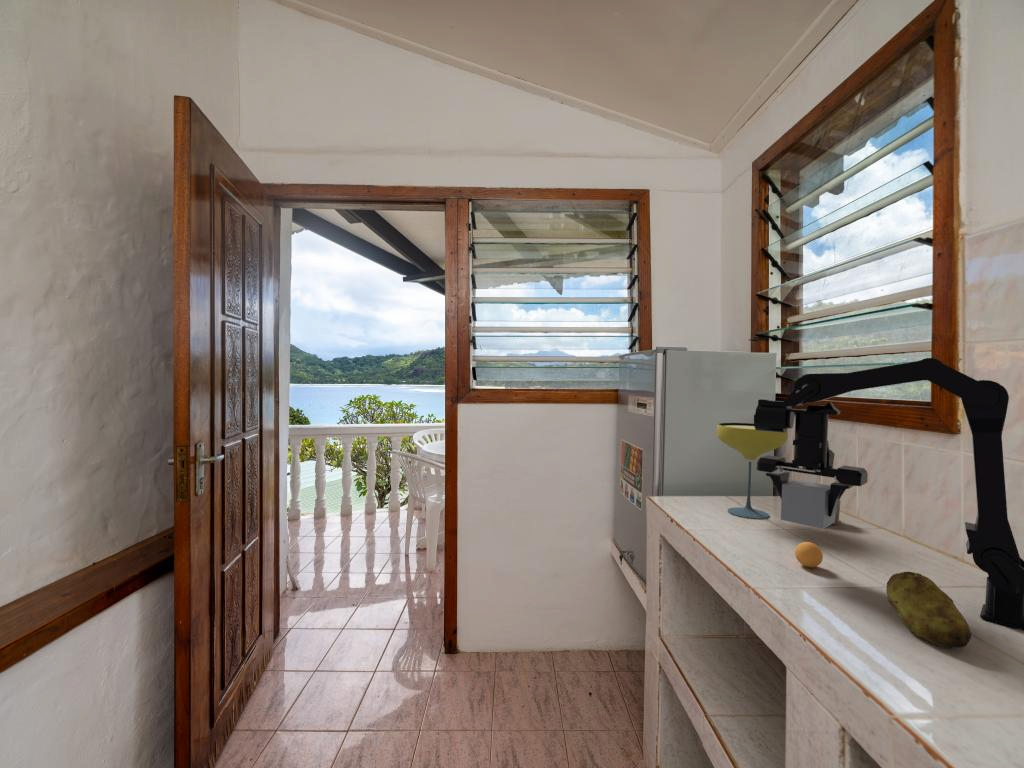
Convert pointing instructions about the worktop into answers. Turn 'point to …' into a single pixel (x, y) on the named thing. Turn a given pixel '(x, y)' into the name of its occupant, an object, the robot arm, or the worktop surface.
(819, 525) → the plain gray cube
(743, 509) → the cocktail glass
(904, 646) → the worktop surface
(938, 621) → the potato
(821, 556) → the ball
